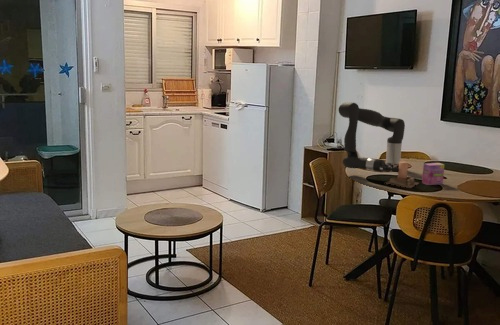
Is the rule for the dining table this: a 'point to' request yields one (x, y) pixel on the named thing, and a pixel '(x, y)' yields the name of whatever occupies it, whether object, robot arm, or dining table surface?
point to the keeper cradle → (403, 182)
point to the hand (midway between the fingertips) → (401, 169)
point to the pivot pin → (403, 170)
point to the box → (433, 173)
